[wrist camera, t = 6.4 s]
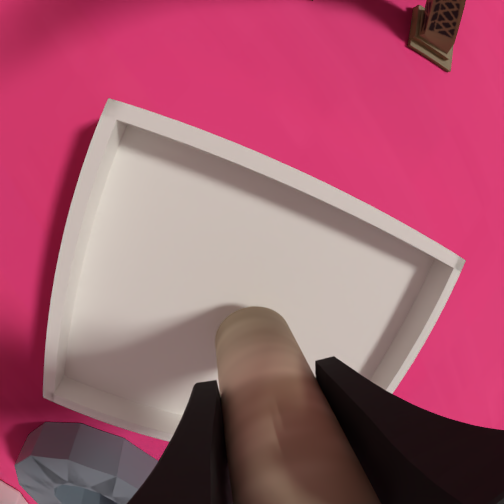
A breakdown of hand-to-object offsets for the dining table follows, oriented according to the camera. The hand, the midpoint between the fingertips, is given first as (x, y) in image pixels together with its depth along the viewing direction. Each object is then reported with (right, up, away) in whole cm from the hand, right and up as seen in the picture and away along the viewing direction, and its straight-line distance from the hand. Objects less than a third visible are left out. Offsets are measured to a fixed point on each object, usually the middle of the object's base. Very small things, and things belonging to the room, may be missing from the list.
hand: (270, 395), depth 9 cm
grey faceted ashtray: (-11, -10, +7) cm, 17 cm away
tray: (-1, +1, +5) cm, 5 cm away
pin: (0, +1, +3) cm, 4 cm away
